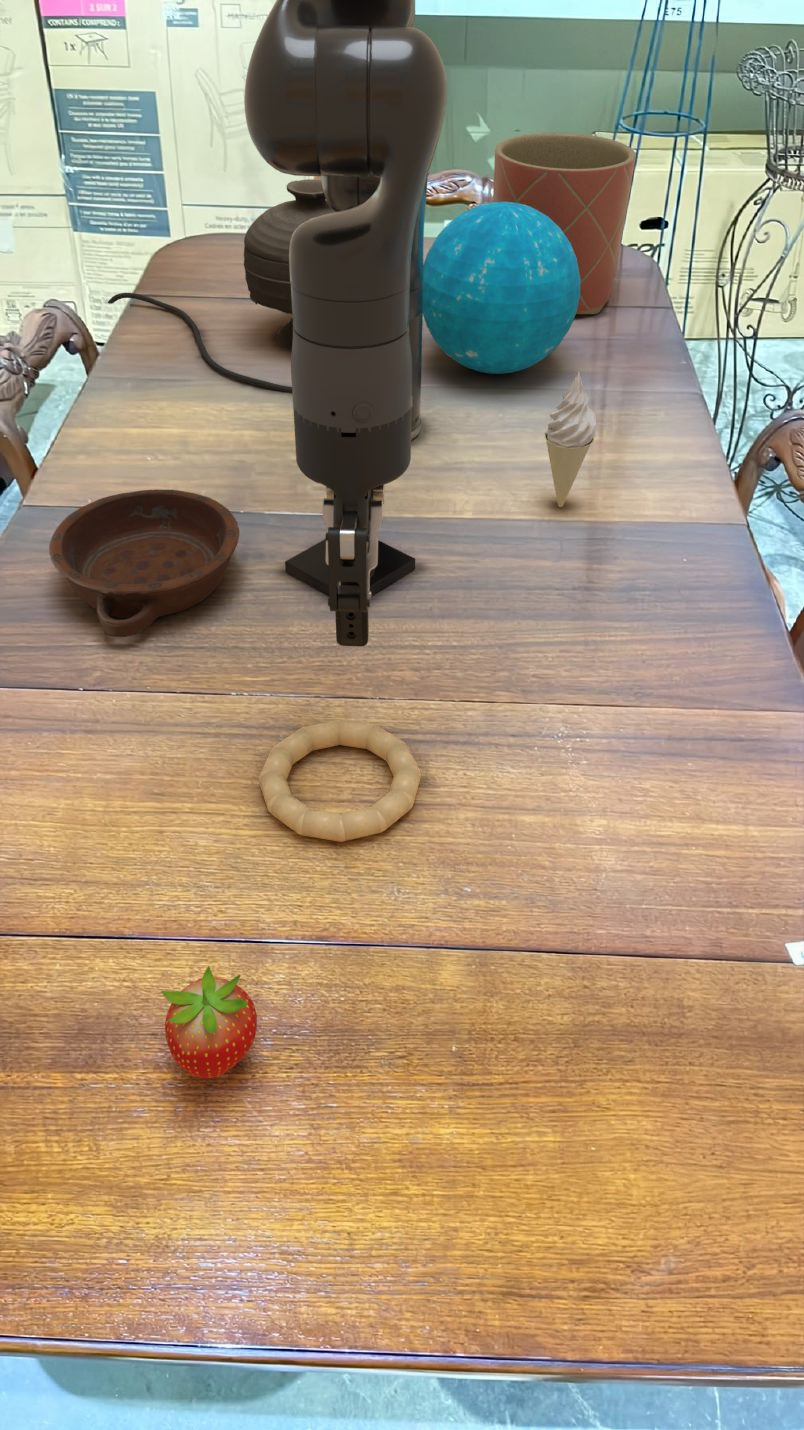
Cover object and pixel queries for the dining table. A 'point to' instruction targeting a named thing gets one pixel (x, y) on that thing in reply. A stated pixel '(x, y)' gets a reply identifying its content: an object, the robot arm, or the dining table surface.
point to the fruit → (210, 1025)
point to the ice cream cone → (569, 438)
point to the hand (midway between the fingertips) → (356, 607)
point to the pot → (279, 248)
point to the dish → (144, 554)
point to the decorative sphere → (500, 287)
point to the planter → (573, 197)
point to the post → (316, 574)
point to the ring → (329, 822)
